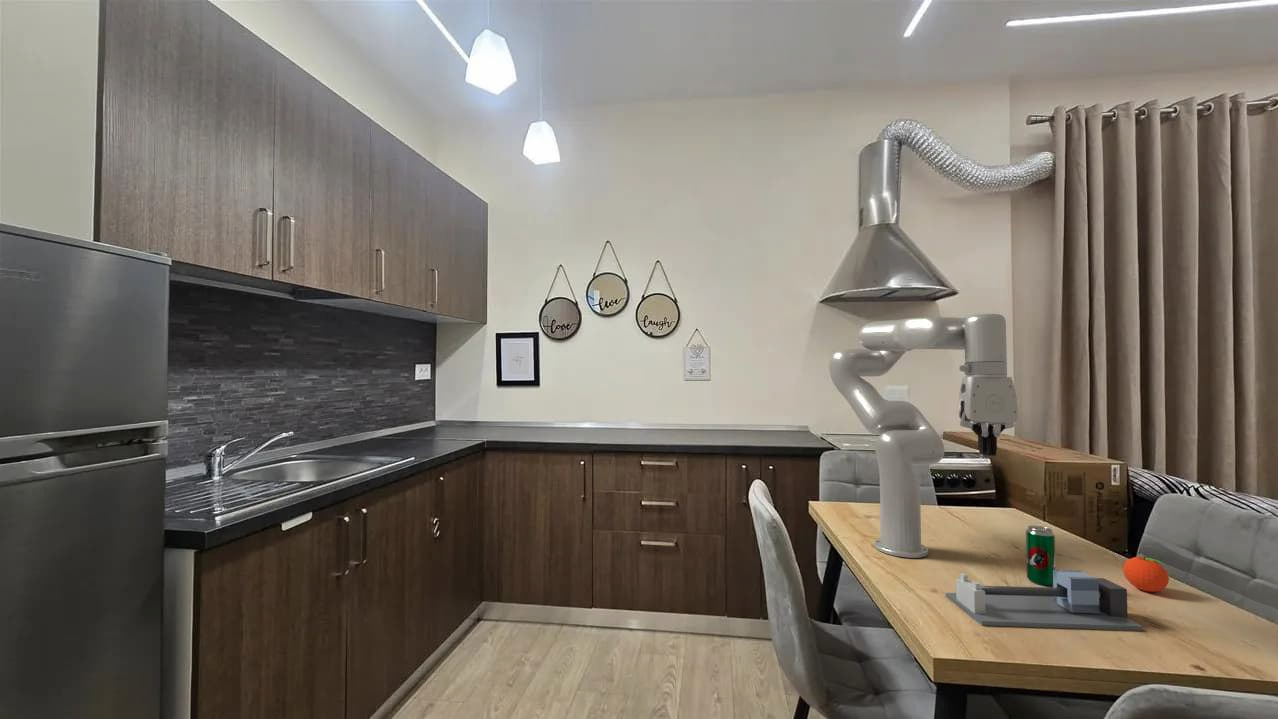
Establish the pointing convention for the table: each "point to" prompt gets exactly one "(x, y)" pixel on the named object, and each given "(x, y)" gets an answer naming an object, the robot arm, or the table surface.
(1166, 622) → the table surface
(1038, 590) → the linear slide rail
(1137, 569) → the clementine
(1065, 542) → the table surface
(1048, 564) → the soda can
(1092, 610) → the sleeve
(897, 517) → the robot arm
